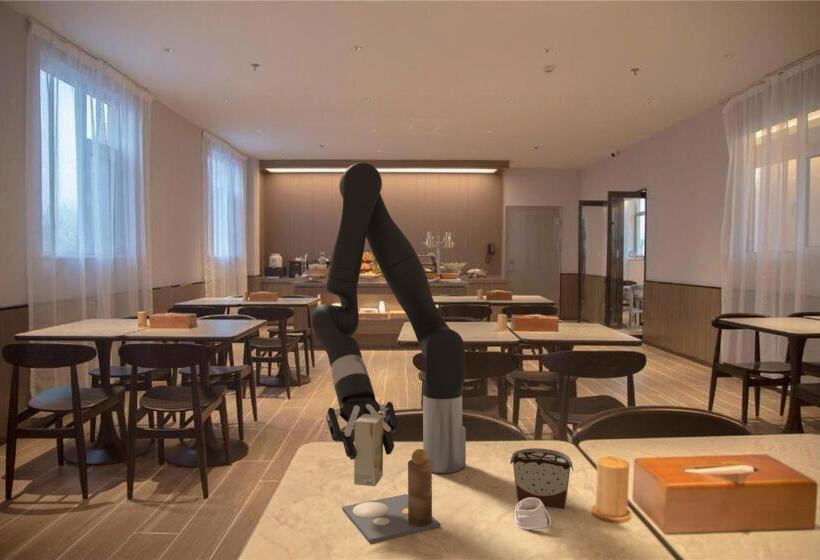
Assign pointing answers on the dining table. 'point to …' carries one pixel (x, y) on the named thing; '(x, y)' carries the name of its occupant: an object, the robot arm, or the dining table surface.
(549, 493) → the food container
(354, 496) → the dining table surface
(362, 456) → the skincare box
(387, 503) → the card
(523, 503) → the white crumpled cloth
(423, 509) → the walnut tube
